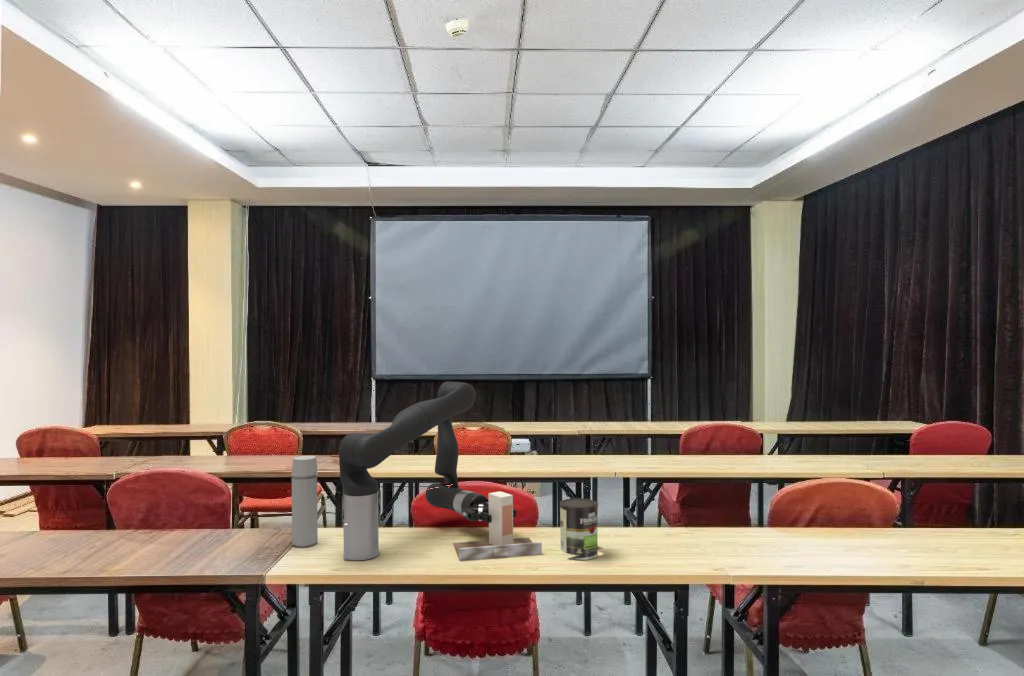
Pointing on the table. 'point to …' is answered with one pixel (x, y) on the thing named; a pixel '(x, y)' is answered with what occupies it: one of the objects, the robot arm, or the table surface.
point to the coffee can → (579, 528)
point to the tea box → (501, 518)
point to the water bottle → (304, 501)
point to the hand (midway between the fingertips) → (503, 516)
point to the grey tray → (496, 549)
